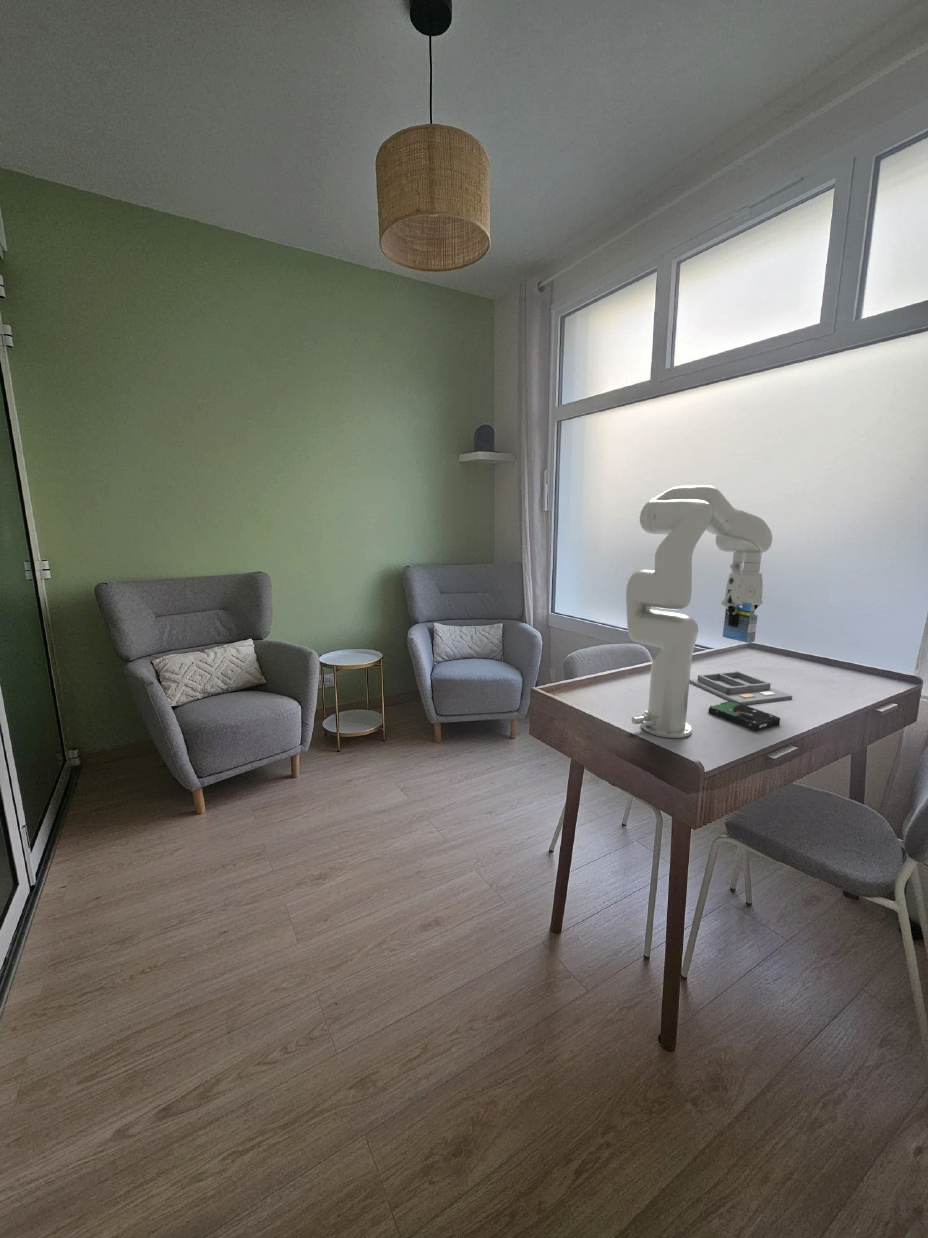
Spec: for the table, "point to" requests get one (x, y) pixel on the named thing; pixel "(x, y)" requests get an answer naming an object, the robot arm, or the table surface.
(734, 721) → the disk drive
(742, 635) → the label tape box
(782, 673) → the table surface
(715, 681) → the grey compartment tray
